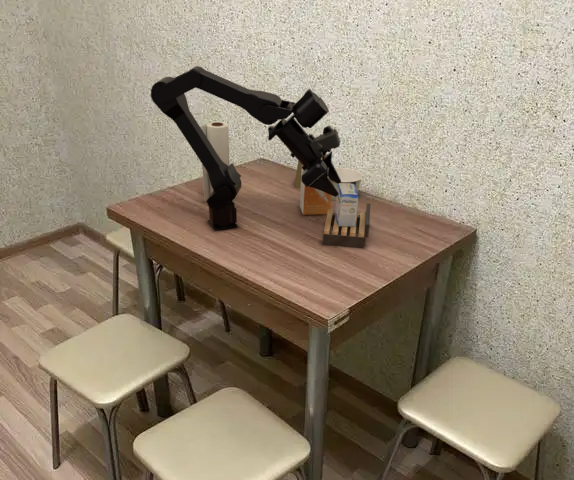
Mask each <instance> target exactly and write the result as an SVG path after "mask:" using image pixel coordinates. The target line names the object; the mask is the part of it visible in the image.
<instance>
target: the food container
mask: <svg viewBox="0 0 574 480" xmlns="http://www.w3.org/2000/svg"><path fill="white" fill-rule="evenodd" d="M335 169H336V171H337V173H338V175H339V177H340V179H341V182H340V183H349V184H354V186H355V188H356V190H357V193H358V192H359V189H360V186H361V181H362V180H363V178H364V174H363V173H362V172H361V171H359V170H357V169H354V168H349V167H335ZM333 185H334V186H335V188H336V190H337V187H338V184H337V183H335V182H334V181H333ZM358 194H359V193H358ZM336 198H337V197H334V196H332V200H334V201H336Z"/></svg>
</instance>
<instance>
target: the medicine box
mask: <svg viewBox="0 0 574 480" xmlns="http://www.w3.org/2000/svg"><path fill="white" fill-rule="evenodd" d="M337 191H338V193H339V195H338V196H337V198H336V200H335V209H334V213H335V216H336V219H337V222H338V225H339V228H340V227H341V228H342V227H348V228H351V227H355V224H356V216H357V215H358V214H357V212H358V205H359V193H357V190H356V188H355V186H354V184H349V183H339V184H338V187H337Z"/></svg>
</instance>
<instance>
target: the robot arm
mask: <svg viewBox="0 0 574 480" xmlns="http://www.w3.org/2000/svg"><path fill="white" fill-rule="evenodd" d="M194 89H198V90H201V91H203V92H204V93H207V94H210V95H212V96H214V97H217V98H219V99H222V100H223V101H225V102H228V103H230V104H232V105H235V106H237V107H239V108H241V109H243V110H244V111H246V112H247V113H248V114H249V116H251V117H252V118H254V119H255V120H257V121H258V122H260V123H261V124H263V125H266V126H268V127H267V131H268V137H267V139H268V141H271V140H272V139H274V138H275V137H277V138H278V139H279V140H280V141H281V142H282V144H283V145H285V147H286V148H287V149H288V151H290V157H292V159H294V158H295V159H297V162H298V161H299V162H300V163H301V164H302V169H303V170H304V171H303V174H302V183H303V184H304V185H305V186H306V187H308V186H309V187H310V188H311V187H312V188H315V189H318V190H320V191H323V192H325V193H327V194H330V195H332V196H334V197H337V196H338V195H339V193H338V191H337V190H336V188H335V186H334V185H333V183H332V182H331V180H332V181H334V182H335V183H337V184H339V183H340V182H341V179H340V177H339V175H338V173H337V171H336V169H335V168H336V167H335V165H334V163H333V150H332V149H334V150H335V149H338V148H339V147H340V146H341V139H340V137H339V132H338V131H337V129H336V128H332V127H331V125H327V126H325V127H323V129H322V133H321V134H319V135H318V136H314V135H313V134H312V133H308V132H306V131H305V129H307V128H309V129H312V128H313V127H314V126H315V125H316V124H318V123H319V122H320V121H321V120H322V119H323V118H325V116H326V115H327V114H328V113H329V112H330V110H329V107H328V105H327V104H326V102H325V101H324V100H323V99H322V97H321V96H319V95H317V93H316V92H313V91H312V90H311V88H307V90H306V91H305V92H304V93H303V95H302V96H301V97H300V98H299V99H298V100H297V101H295V102H294V101H289V100H286V99H282V98H281V97H280V96H279V95H277V94H276V93H272V92H267V91H263V90H254V89H249V88H247V87H244V86H242V85H241V84H238V83H236V82H233V81H231V80H229V79H226V78H224V77H222V76H220V75H217V74H215V73H213V72H211V71H208V70H206V69H205V68H203V67H202V66H199V65H196V66H193V67H191V69H189V70H188V71H186V72H184V73H181V74H179V75H177V76H175V77H174V76H173V77H172V76H164V77H162V78H161V79H159V80H158V81H156V82H154V83H153V85H152V86H151V88H150V98H151V100H152V102H153V103H154V104H155V106H156V107H157V108H158V109H159V110H160V112H161V113H163V114H164V115H165V116H166V117H168V118H169V119H170V120H172V121H173V122H174V123H175V125H176V126H177V128H178V129H179V131H180V132H181V134H182V136H183V137H184V139H185V140H186V141H187V142H188V144H189V146H190V148H191V149H192V151H193V152H194V154H195V156H197V158H198V160H199V161H200V163H201V165H202V164H203V166H204V167H205V169H206V170H207V172H208V175H209V179H210V183H211V186H212V188H213V192H212V193H211V195H210V196H209V198H208V199H207V201H206V203H207V206H208V216H209V217H208V218H209V219H207V224H208V225H209V226H210V227H211V228H212V229H213V230H214V231H215V232H216V231H222V230H229V229H237V228H238V224H237V222H238V213H237V210H238V209H237V207H236V206H235V205H236V204H235V202H234V200H235V199H236V198H237V196H238V195H239V192H240V191H241V189H242V185H243V184H242V179H241V177H242V175H241V174H240V173H239V172H238V171H237V169H236V166H235V165H234V163H233V162H231V163H229V164H230V165H229V166H228V165H226V164H225V163H224V162H223V161H222V160H221V159H220V157H219V156H218V154H217V153H216V151H215V150H214V148H213V146H212V145H211V143H210V142H209V140H208V139H207V137H206V135H205V134H204V132H203V131H202V129H201V128H200V127H201V126H200V124H199V123H198V121H197V120H196V118H195V117H194V116H193V113H192V112H191V110H190V107H189V103H188V99H187V96H186V93H188V92H190V91H192V90H194ZM278 120H279V121H278ZM275 123H276V124H275ZM274 124H275V125H274Z"/></svg>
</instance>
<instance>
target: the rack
mask: <svg viewBox="0 0 574 480" xmlns="http://www.w3.org/2000/svg"><path fill="white" fill-rule="evenodd" d="M371 204H372V203H366V207H365V211H360V214H358V211H357V216H356V224H355V227H341V231H340V232H339V230H340V227H339V225H338V222H337V219H336V216H335V212H334V209H332V208H331V209H328V213H327V214H326V218H325V223H324V226H323V227H324V228H323V234H322V245H323V246H332V247H333V246H334V247H344V248H357V249H364V244H365V238H369V234H370V233H369V232H370V224H371V223H370V222H371ZM332 226H333V227H332ZM331 227H332V232H331ZM348 228H350V229H349V233H348ZM357 228H358V234H357V233H356V232H357Z"/></svg>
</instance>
